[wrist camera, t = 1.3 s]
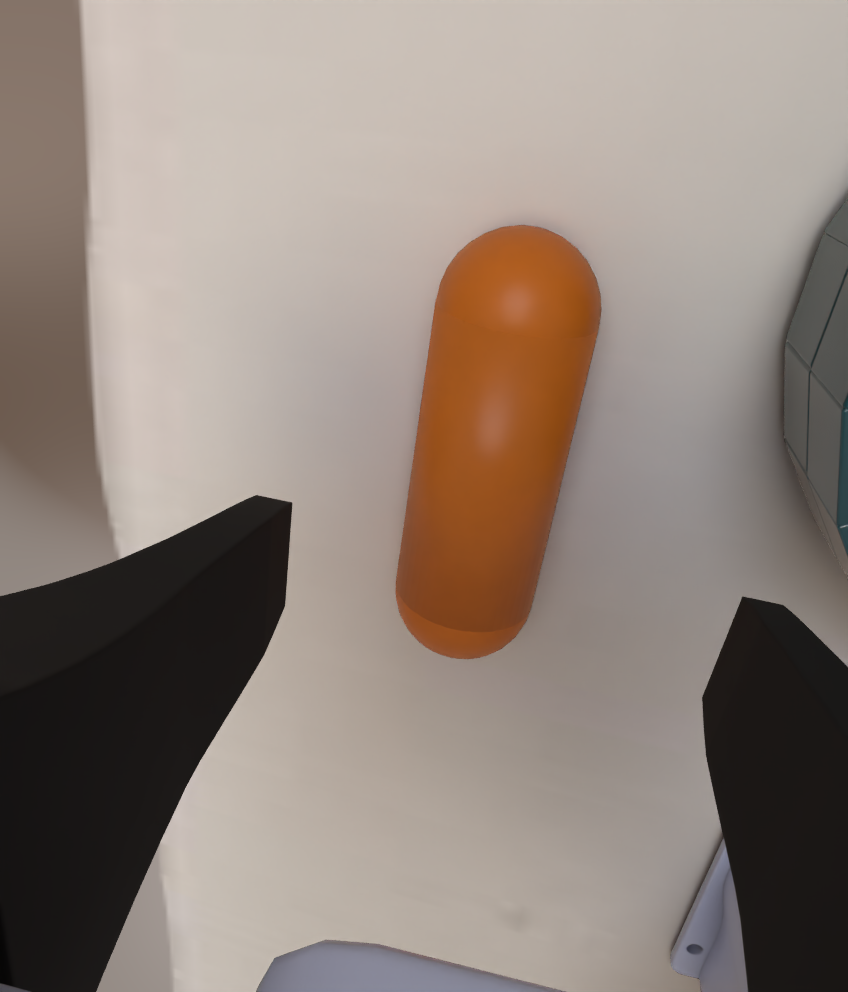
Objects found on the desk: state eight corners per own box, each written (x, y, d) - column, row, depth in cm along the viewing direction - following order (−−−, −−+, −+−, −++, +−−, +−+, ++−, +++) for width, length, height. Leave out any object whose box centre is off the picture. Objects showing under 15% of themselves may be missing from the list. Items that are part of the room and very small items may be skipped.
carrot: (522, 618, 23) (514, 702, 20) (402, 593, 24) (375, 671, 20) (615, 228, 18) (624, 257, 15) (459, 202, 18) (435, 225, 15)
